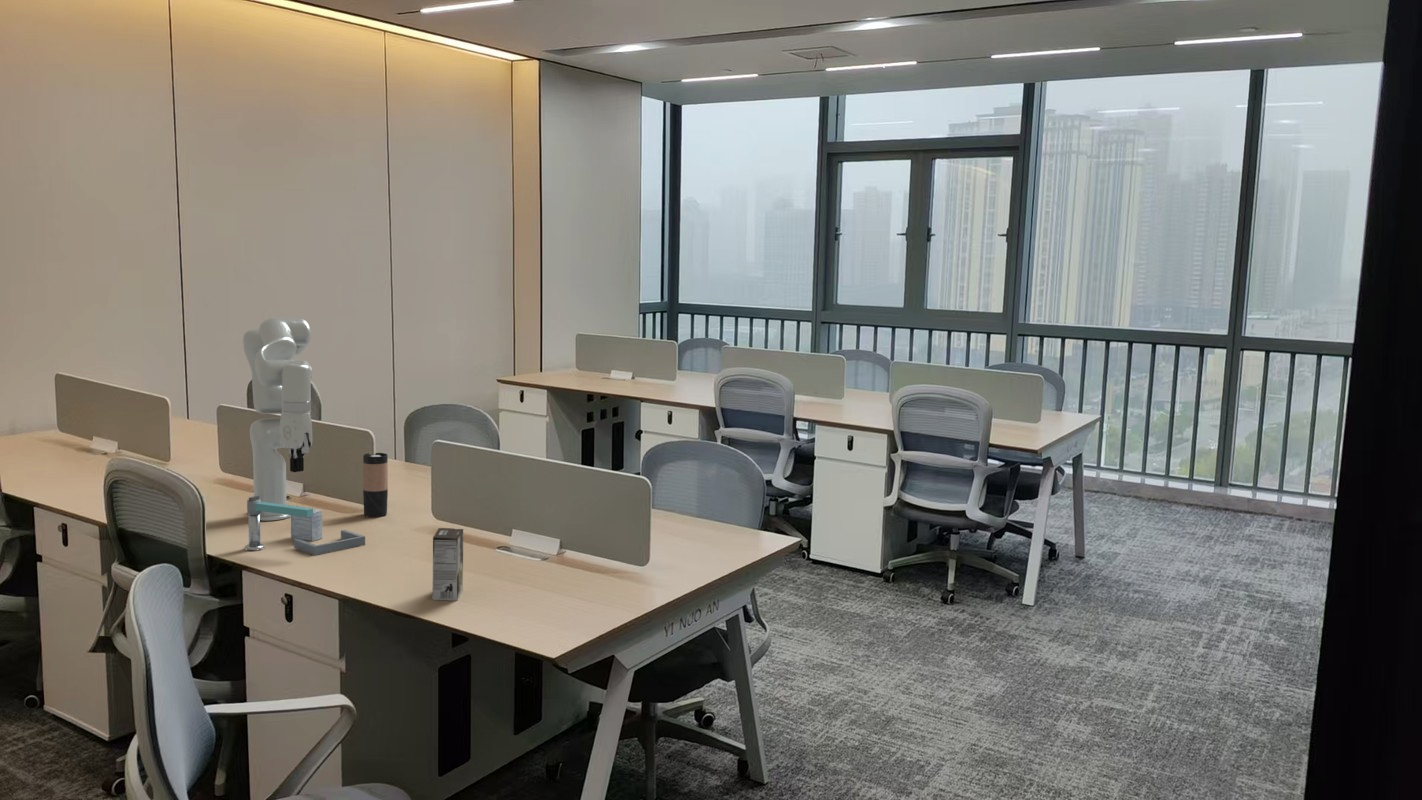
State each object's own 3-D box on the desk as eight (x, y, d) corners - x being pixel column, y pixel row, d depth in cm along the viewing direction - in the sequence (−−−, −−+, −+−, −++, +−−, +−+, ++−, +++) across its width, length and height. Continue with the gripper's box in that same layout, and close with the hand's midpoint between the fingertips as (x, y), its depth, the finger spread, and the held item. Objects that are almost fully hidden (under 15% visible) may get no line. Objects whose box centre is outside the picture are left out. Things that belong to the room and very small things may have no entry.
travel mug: (380, 518, 330) (380, 457, 327) (358, 516, 331) (358, 455, 329) (392, 513, 337) (392, 453, 335) (370, 511, 339) (370, 451, 336)
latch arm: (253, 511, 291) (253, 494, 291) (314, 519, 285) (314, 502, 285) (244, 513, 288) (244, 497, 287) (305, 522, 282) (305, 505, 281)
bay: (294, 548, 292) (294, 539, 292) (344, 537, 305) (344, 529, 305) (314, 555, 286) (314, 546, 286) (365, 544, 299) (365, 536, 299)
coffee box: (438, 589, 261) (438, 527, 259) (463, 589, 262) (464, 528, 260) (431, 600, 252) (431, 536, 250) (457, 600, 253) (458, 537, 251)
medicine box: (322, 538, 304) (322, 510, 303) (312, 542, 300) (312, 513, 299) (301, 535, 306) (300, 506, 305) (290, 538, 302) (290, 510, 301)
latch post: (241, 548, 290) (241, 514, 289) (258, 545, 294) (258, 511, 293) (250, 551, 287) (250, 517, 286) (267, 548, 291) (267, 514, 290)
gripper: (269, 404, 288) (270, 468, 290) (298, 411, 279) (299, 477, 281) (294, 402, 294) (294, 465, 296) (323, 409, 285) (323, 473, 287)
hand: (296, 471), depth 289 cm, fingers closed
